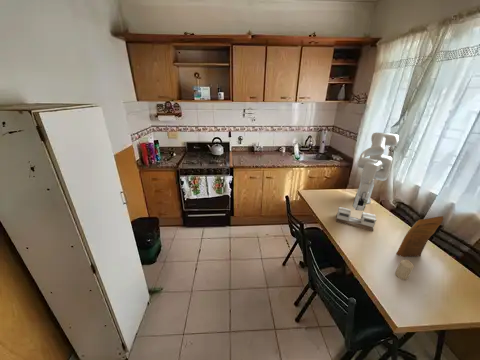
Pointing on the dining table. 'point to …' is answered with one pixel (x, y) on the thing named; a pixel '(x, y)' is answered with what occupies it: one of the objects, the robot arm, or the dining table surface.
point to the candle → (404, 269)
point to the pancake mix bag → (418, 237)
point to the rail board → (356, 219)
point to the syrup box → (358, 200)
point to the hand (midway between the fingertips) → (359, 202)
